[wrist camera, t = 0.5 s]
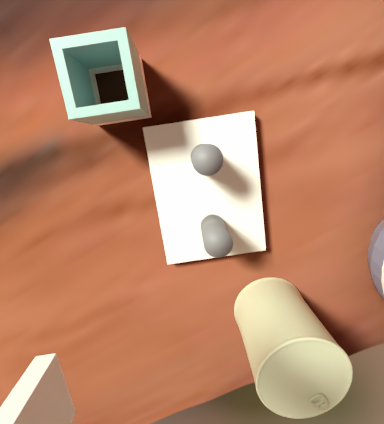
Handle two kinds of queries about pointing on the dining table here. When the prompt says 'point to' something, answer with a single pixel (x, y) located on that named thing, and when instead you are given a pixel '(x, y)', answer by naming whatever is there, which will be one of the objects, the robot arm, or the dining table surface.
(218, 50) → the dining table surface
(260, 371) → the can
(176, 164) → the pinboard
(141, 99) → the sleeve
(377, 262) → the bowl
